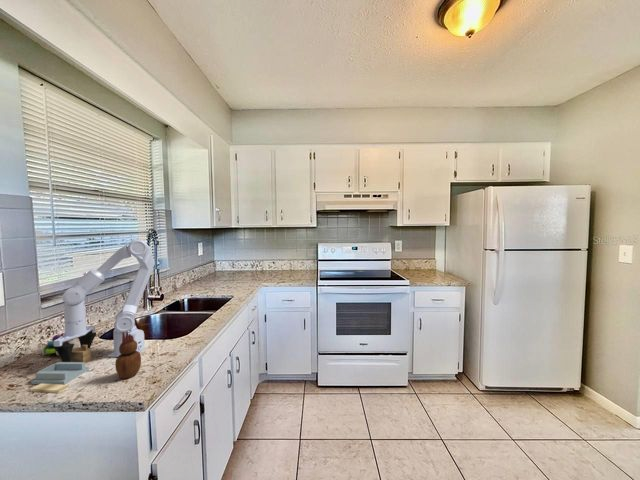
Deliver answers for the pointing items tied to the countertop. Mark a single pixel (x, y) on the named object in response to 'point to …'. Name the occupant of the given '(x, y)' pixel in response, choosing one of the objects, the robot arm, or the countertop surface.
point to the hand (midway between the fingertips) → (76, 358)
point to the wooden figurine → (128, 357)
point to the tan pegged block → (80, 354)
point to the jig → (60, 373)
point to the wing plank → (49, 388)
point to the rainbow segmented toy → (49, 347)
